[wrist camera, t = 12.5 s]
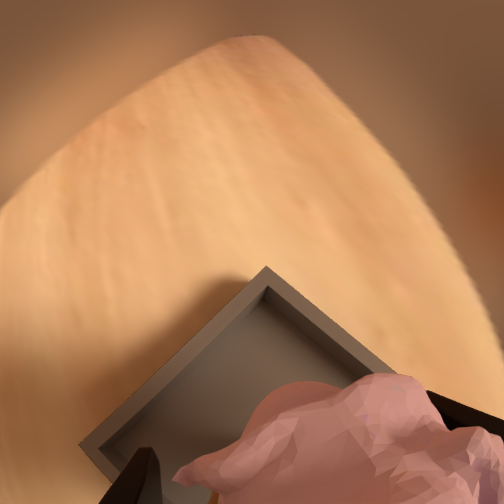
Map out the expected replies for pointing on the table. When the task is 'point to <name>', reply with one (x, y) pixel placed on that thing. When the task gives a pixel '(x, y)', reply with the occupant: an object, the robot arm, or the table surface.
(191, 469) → the ice cream cone
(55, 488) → the table surface
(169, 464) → the tray
